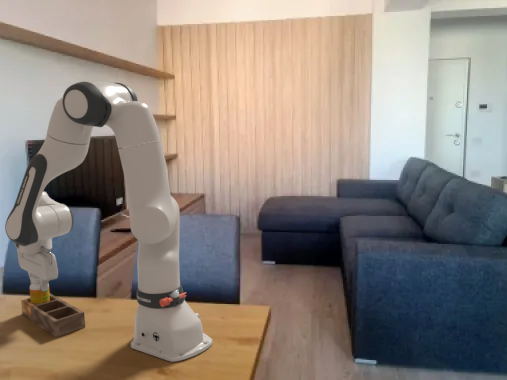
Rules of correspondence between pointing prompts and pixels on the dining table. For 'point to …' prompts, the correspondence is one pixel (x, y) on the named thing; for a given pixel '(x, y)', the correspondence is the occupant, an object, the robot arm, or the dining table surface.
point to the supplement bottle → (38, 292)
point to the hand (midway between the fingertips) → (39, 287)
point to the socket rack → (54, 315)
